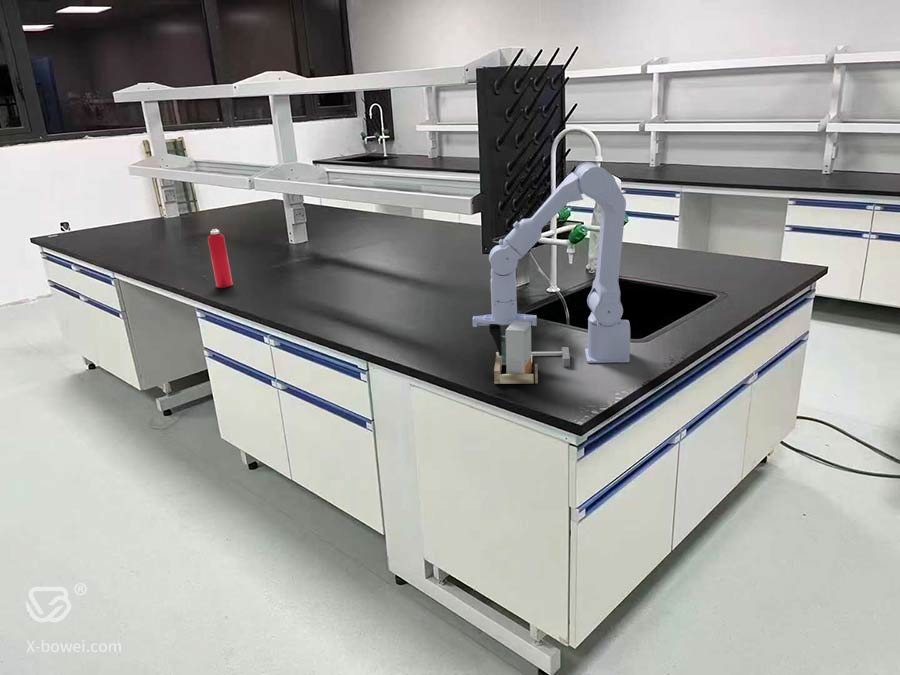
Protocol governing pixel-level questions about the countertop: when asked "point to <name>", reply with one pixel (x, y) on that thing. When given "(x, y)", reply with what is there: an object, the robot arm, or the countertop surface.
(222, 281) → the bottle
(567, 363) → the rail
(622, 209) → the robot arm
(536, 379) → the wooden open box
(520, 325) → the skincare box
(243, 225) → the countertop surface
